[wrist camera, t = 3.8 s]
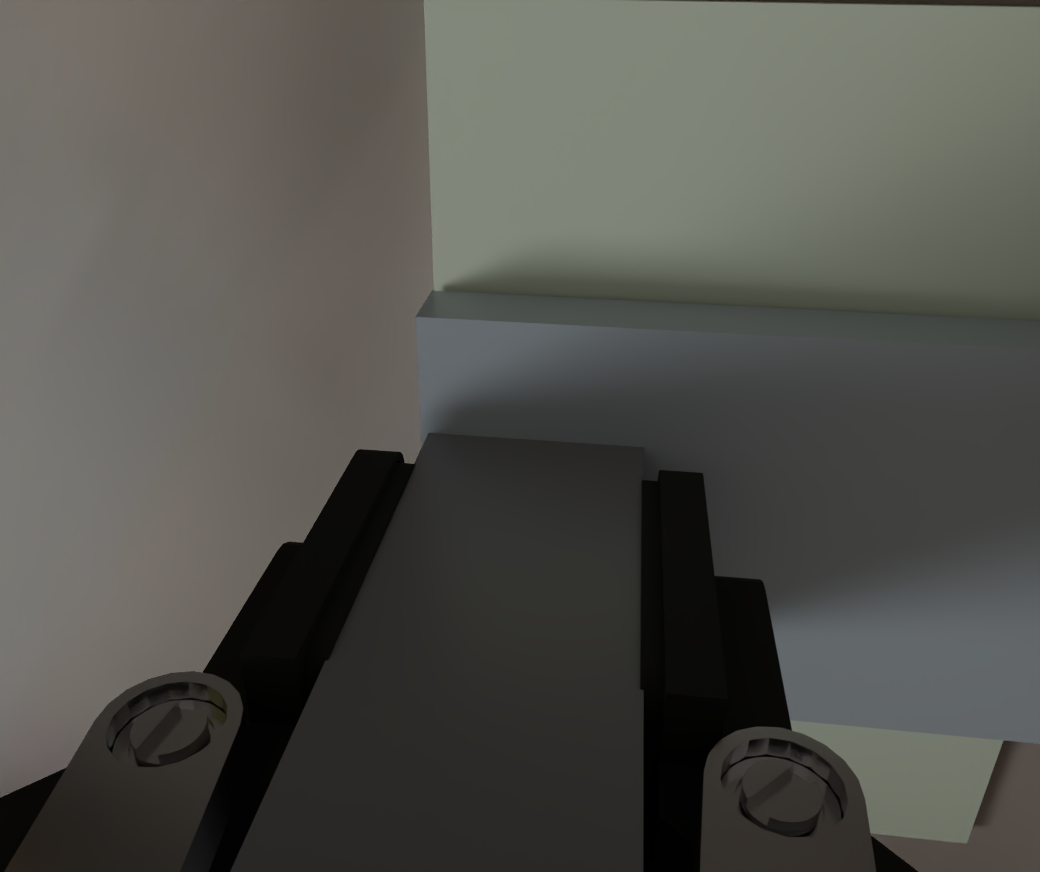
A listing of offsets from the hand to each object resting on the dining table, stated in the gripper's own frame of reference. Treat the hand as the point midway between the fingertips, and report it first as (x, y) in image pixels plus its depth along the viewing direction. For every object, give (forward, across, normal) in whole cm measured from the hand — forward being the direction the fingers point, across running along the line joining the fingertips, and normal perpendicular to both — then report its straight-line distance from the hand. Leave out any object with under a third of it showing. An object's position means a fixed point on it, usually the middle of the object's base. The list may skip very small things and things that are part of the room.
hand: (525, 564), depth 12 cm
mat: (+2, -3, 0) cm, 4 cm away
